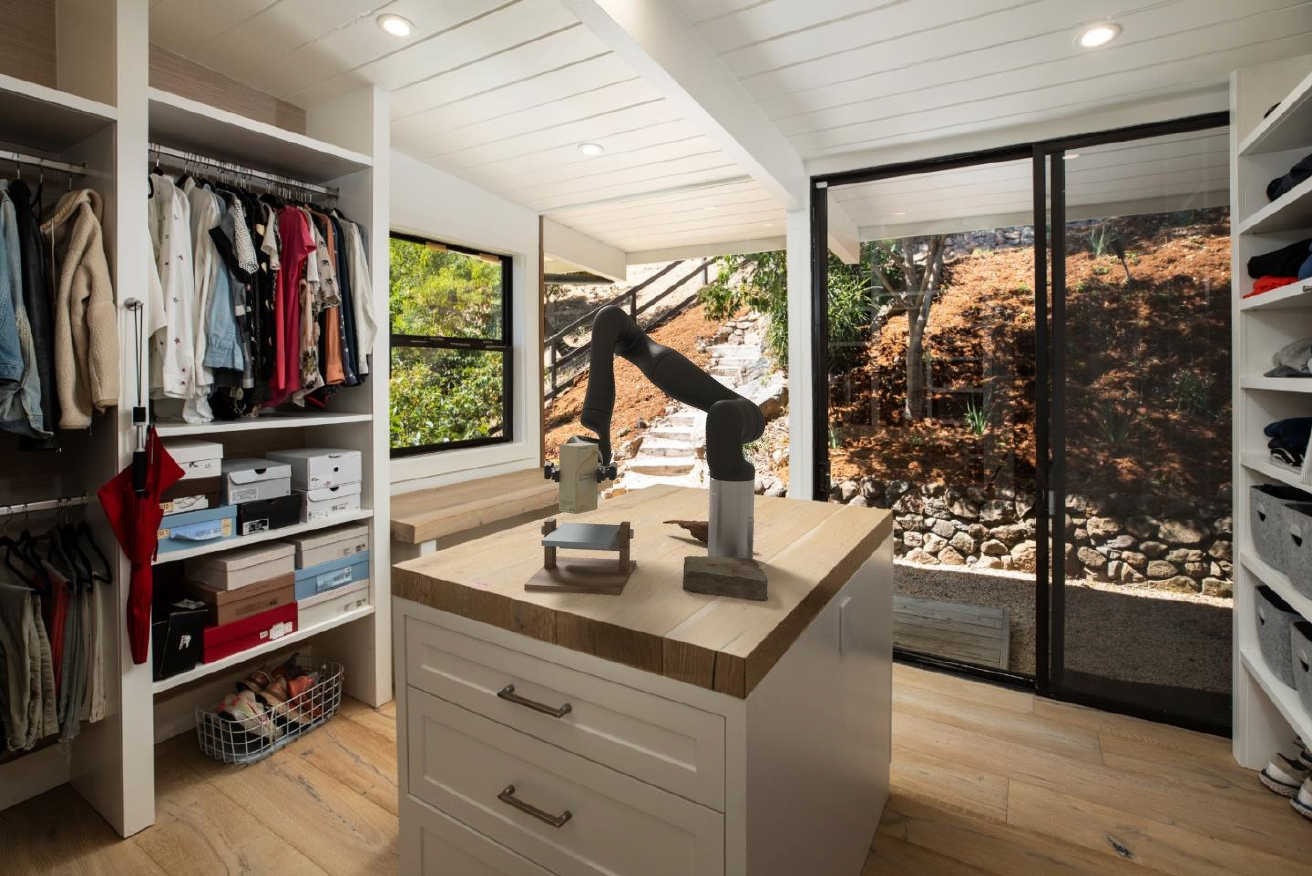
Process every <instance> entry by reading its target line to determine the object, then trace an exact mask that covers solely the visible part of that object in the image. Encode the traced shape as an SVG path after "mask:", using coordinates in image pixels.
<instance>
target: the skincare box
mask: <svg viewBox="0 0 1312 876" xmlns="http://www.w3.org/2000/svg"><path fill="white" fill-rule="evenodd" d="M558 453H559V455H558V456H559V461H558V463H559V464H558V465H559V482H558V511H559V512H562V513H567V514H574V515H580V514H583V513H589V512H592V511H593V512H594V511H596V510H598V506H599V505H598V504H599V503H598V499H599V498H598V497H599V496H598V494H599V493H598V492H599V491H598V490H599V489H598V487H599V483H597V470H598V444H593V443H582V442H579V443H570V444H566V443H564V444H563V443H562V444H559V452H558Z"/></svg>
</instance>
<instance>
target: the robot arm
mask: <svg viewBox="0 0 1312 876" xmlns="http://www.w3.org/2000/svg"><path fill="white" fill-rule="evenodd" d="M590 339H591V340H590V352H589V353H590V354H589V357H590V358H589V367H588V370H589V372H588V378H587V379H588V380H587V386H586V391H585V396H584V400H583V403H582V404H583V405H582V409H581V413H580V418H579V423H580V424H581V426H582V427H584V428H586V430H589V431H592V432H594V433H595V434H596V435H597V436H598V438H595V437H591V436H590V437H589V436H585V435H580V434H574V435H571V436H570V437H569V438H568V439H567V442H566V443H565V444H570V443H579V442H582V443H593V444H598V470H597V483H598V484H602V482H604V481H606V480H607V478H608V480H609V481H611V482H612V481H616V480H617V478H618V466H619V465H618V462H616V461H613V462H611V461H612V455H613V454H612V444H611V425H612V418H613V413H614V409H615V408H614V407H615V403H616V395H617V393H616V392H617V390H616V380H615V370H614V369H615V368H614V355H617V356H619V357H621V358H622V359H624V360H626V361H628V362H629V363H631V364H632V365H634V366H635V367H637V368H638V369H639V370H640V371H641V373H642V374H643V376H645V378H646V379H647V380H648V381H649V382H650V383H652V384H653V385H654V386H655V387H656V388H658V389H659V390H660V391H661V392H662V393H663V394H665V395H666V396H668V397H669V398H671V399H673V400H675V401H677V402H679V403H682V404H685V405H686V406H690V407H692V408H695V409H696V410H700V411H703V412H705V413H706V414H707V415H706V419H705V458H706V464H707V466H708V469H709V486H708V487H709V492H708V494H709V498H708V521H709V527H708V543H707V556H718V557H730V558H732V557H733V558H741V559H744V558H747V559H752V560H754V542H753V540H754V533H755V532H754V529H755V484H756V483H755V482H756V479H755V478H756V469H755V468H756V467H755V465H754V464H753V463H751V462H749V461H748V460H746V458H745V457H744V451H743V450H744V447H743V445H747V444H751V443H754V442H756V441H758V440H759V439H760V438H761V437H763V435H764V432H765V430H766V426H767V425H766V418H765V416H764V413H763V411H762V410H761V407H759V406H758V404H756V403H755V402H754V401H753V400H750V398H749V399H748V398H747V397H745V396H744V395H742V394H739V393H738V392H736V391H734V390H732V389H731V388H729V387H727V386H726V385H724V384H723V383H721V382H719V381H718V380H717V379H716V378H714V377H713V376H712V375H711V374H710V373H708V372H706V370H704V369H702V367H700V366H698V365H697V364H696V363H694V362H693V361H691V360H690V358H688V357H686V356H685V355H684V354H683V353H680V351H678V350H676V349H675V348H673V347H670V346H667V345H663V344H660V343H658V342H656V341H655V340H653V339H652V338H651V337H650V336H649V335H648V334H647V333H646V332H645V331H644V330H643V329H642V328H641V327H640V325H638V324H637V322H636V321H635V320H634V319H633V318H632V317H631V316H630V315H629V314H628V313H627V312H626V311H625V310H624V309H623V308H621V307H620V306H618V305H615V304H610V305H607V306H604V307H603V308H601V309H600V310H599V311H597V313H596V315H595V316H594V319H593V322H592V327H591V338H590ZM543 479H544V480H550V479H551V480H552V481H554V483H559V464H556V465H555V462H554V461H551V460H546V461H545V463H544V464H543Z"/></svg>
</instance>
